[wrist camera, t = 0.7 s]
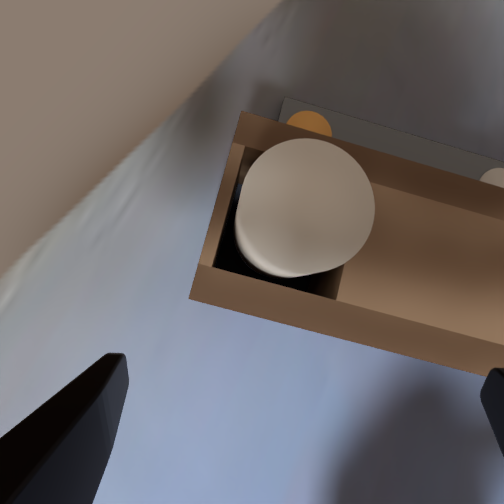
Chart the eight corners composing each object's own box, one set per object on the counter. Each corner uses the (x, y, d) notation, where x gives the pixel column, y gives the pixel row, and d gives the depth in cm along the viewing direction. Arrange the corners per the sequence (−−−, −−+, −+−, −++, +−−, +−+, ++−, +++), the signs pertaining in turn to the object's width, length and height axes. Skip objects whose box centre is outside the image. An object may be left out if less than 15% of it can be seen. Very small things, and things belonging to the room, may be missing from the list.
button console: (521, 382, 24) (624, 412, 18) (196, 297, 22) (188, 298, 16) (543, 245, 25) (647, 230, 19) (235, 156, 23) (241, 110, 18)
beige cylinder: (314, 290, 20) (358, 288, 14) (222, 265, 19) (224, 252, 13) (336, 199, 20) (387, 159, 14) (246, 174, 20) (259, 122, 14)
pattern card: (517, 230, 25) (524, 228, 24) (268, 158, 24) (269, 154, 23) (526, 173, 25) (534, 170, 25) (283, 100, 24) (285, 95, 24)
